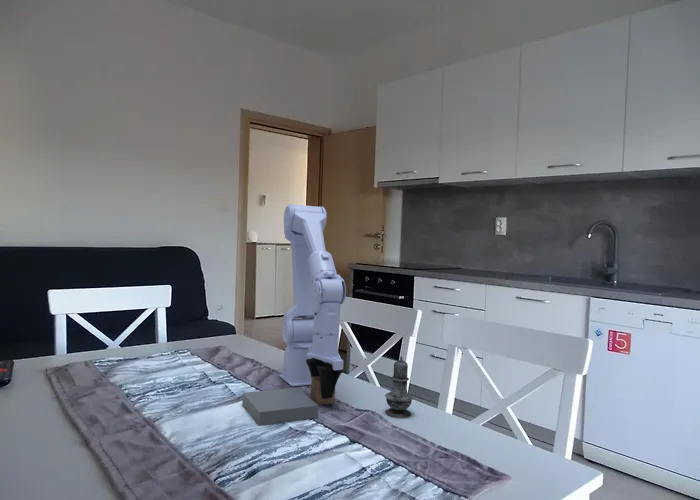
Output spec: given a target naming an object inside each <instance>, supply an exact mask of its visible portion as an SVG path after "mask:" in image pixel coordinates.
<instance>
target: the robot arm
mask: <svg viewBox="0 0 700 500" xmlns="http://www.w3.org/2000/svg"><path fill="white" fill-rule="evenodd" d="M327 216H328V215H327V210H326V209H325V207H324V206H316V205H315V206H312V205H302V204H301V205H300V204H293V203H288V204H287V205H286V207H285V209H284V212H283V233H284V239H285V240H286V241H289V242H290V249H291V250H290V251H291V264H292V265H291V266H292V267H291V268H292V286H293V287H292V289H293V306H292V307H291V308H290V309H288V310H287V311H286V312H285V313H284V315H283V317H282V318H283V319H282V321H283V323H282V329H281V331H282V332H281V333H282V334H281V335H282V340H283V342H284V343H285V344H286V345H287V346H286V347H285V348H284V351H283V352H284V353H283V367H282V368H283V371H282V373H281V374H280V373H279V377H280V378H282V380H283V381H285V382H286V383H287V384H289V385H290V386H291V387H302V386H311V379H312V377H316V376H320V381H321V394H322V398H323V399H326V398H332V396H333V393H334V389H335V390H336V385H337V383H338V380H339V378H340V376H341V375H342V373H343V372H344V360H343V359H342V358H341V356H340V354H339V340H340V339H339V338H340V324H341V323H340V322H341V305H343V304H344V302H345V300H346V296H347V286H346V283H345V282H346V281H345V280H344V279H343V277H341V275H340V274H337V273H338V272H337V270H336V266H335V262H334V260H333V255H332V254H331V253H330V252H329V251H327V250H326V245H325V244H326V243H325V239H324V238H325V237H324V230H325V227H326V224H327V220H328V219H327V218H328V217H327Z"/></svg>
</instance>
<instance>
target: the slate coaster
mask: <svg viewBox="0 0 700 500" xmlns="http://www.w3.org/2000/svg"><path fill="white" fill-rule="evenodd" d="M241 402H242V404H241V405H242V406H243V408H244V409H245V410H246V411H247V413H248V414H249V415H250V417H252V419H253V420H254V421H255V422H256V424H257V425H258V426H266V425H273V424H283V423H288V422H297V421H305V420H311V419H318V417H319V405H317V404H316V403H315V402H314V401H313V400H311V397H309V396H308V395H307V394H305V393H304V392H303V391H302V390H300V388H298V387H289V388H279V389H269V390H259V391H250V392H249V391H248V392H242V401H241Z"/></svg>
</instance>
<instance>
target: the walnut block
mask: <svg viewBox="0 0 700 500" xmlns="http://www.w3.org/2000/svg"><path fill="white" fill-rule="evenodd" d="M310 399H311V400H313V401H314V402H315V403H316V404H317V405H318V406H323V405H328V404H330V405H331V404H335V403H336V401H335V400H336V388H335V389H334V393H333V396H332V398H326V399H323V398H322V394H321V381H320V376H316V377H312V379H311V385H310Z"/></svg>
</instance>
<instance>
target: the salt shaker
mask: <svg viewBox="0 0 700 500" xmlns="http://www.w3.org/2000/svg"><path fill="white" fill-rule="evenodd" d="M408 365H409V364H408V363H407V361H404V359H403V356H400V357H399V360H397V361H395V362H394V363H393V376H391V379H392V387H391V391H390V392H387V393H385V395H384V397H385V398H386V404H387V405H388V407H389V408H388V409H386V410H385V414H386V415H387V416H389V417H391V418H396V419H406V418H410V417H411V416H412V413H411V411H410V410H408V409H409V408H410V406H411V404H412V401H413V400H414V397H413V395H412V394H410V393H408V381H409V380H410V379H409V377H408V368H409V366H408Z"/></svg>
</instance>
